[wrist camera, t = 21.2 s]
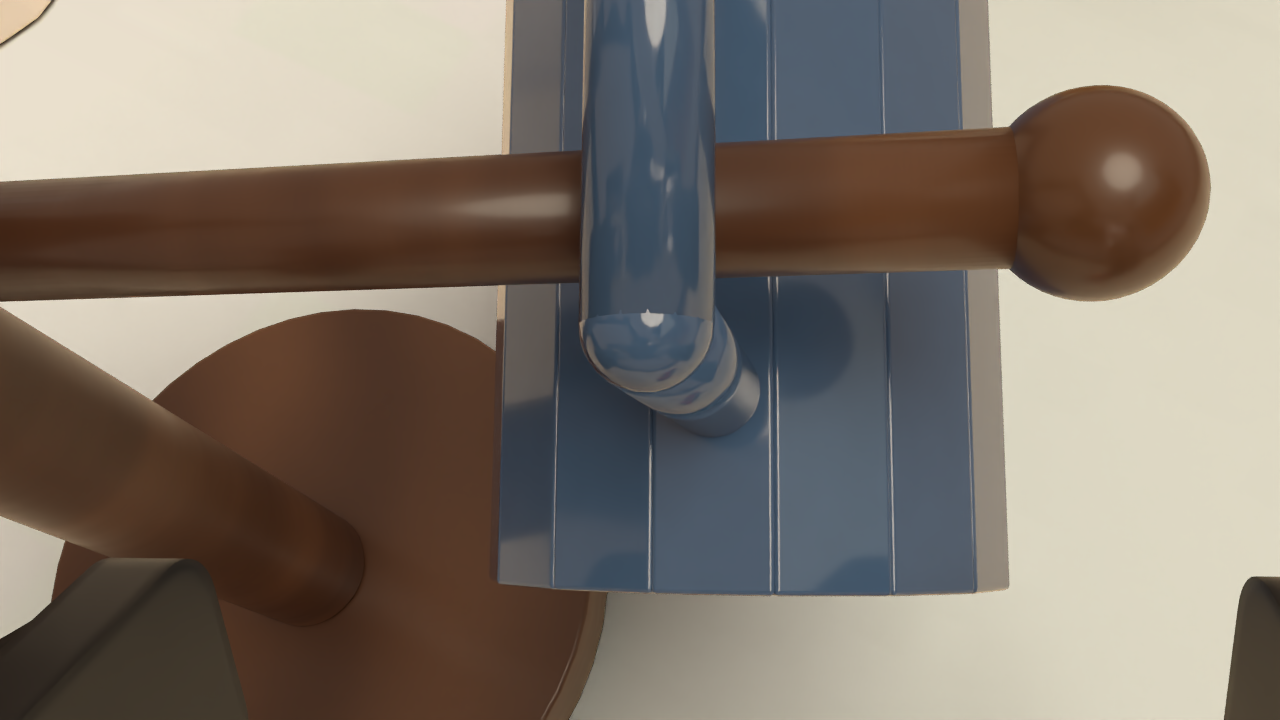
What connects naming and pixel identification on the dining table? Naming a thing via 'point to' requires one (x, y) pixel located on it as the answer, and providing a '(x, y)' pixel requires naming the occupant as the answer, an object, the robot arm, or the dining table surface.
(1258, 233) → the dining table surface
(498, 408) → the mug
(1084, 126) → the mug tree
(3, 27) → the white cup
